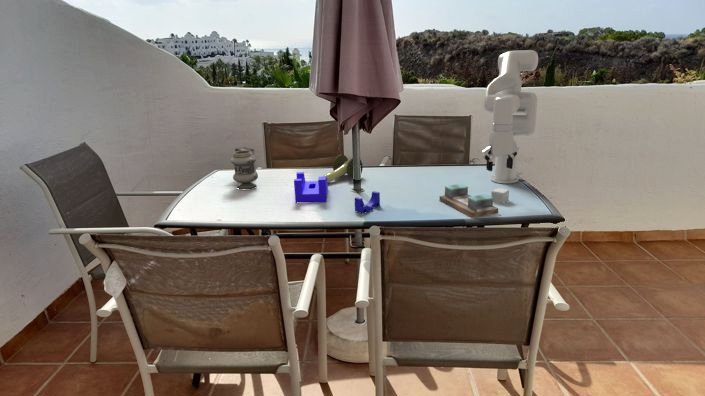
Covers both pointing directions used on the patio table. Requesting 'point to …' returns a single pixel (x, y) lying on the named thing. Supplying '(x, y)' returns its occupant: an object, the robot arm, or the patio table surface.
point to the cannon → (341, 168)
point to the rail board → (466, 210)
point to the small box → (500, 195)
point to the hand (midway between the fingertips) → (499, 169)
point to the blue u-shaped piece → (370, 205)
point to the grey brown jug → (247, 149)
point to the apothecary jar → (244, 169)
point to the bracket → (310, 189)
